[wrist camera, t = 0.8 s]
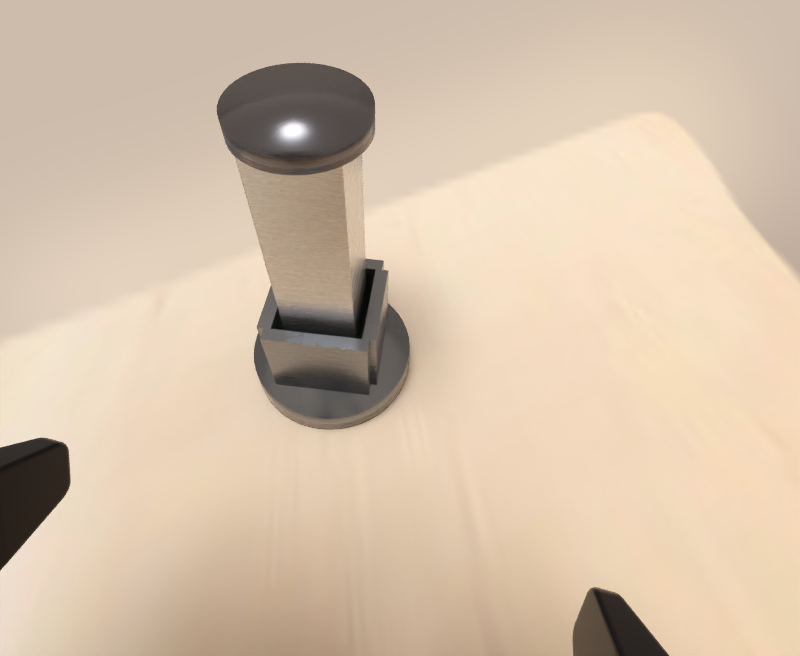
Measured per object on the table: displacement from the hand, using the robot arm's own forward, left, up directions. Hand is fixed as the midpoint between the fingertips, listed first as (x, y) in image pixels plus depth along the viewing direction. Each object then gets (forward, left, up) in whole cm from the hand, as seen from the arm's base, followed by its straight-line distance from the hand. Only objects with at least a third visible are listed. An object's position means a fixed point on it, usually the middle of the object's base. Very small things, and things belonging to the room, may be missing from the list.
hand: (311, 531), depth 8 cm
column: (+7, +9, -13) cm, 17 cm away
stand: (+7, +9, -14) cm, 19 cm away
